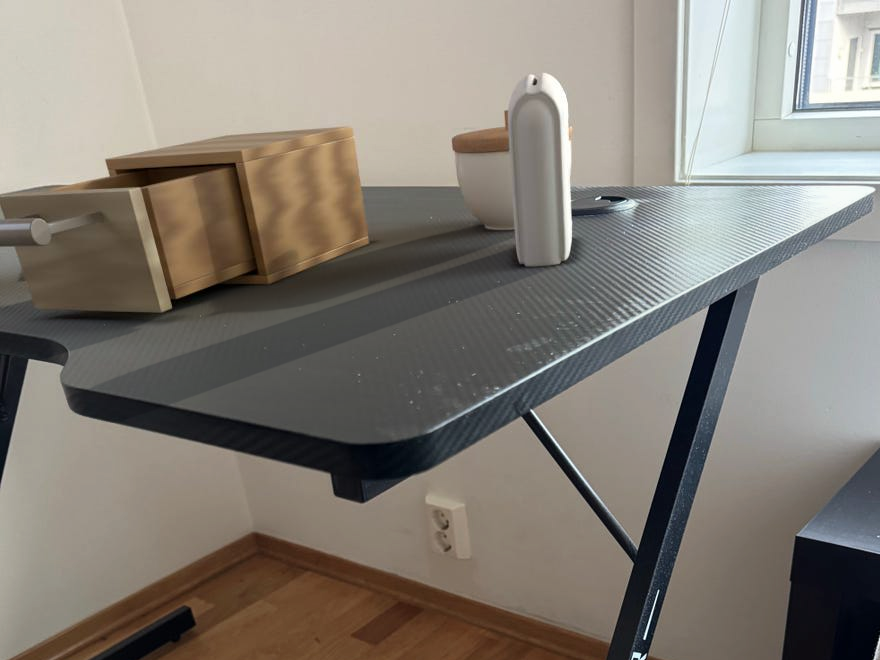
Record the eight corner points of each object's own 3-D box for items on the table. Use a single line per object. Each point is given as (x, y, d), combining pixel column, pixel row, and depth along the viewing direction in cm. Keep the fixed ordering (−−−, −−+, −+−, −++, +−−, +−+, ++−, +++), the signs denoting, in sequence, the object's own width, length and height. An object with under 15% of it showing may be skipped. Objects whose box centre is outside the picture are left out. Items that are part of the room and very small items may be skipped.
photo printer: (522, 244, 78) (512, 73, 71) (573, 240, 77) (568, 67, 71) (513, 271, 69) (500, 79, 63) (570, 267, 69) (563, 73, 62)
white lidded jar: (473, 218, 92) (464, 110, 87) (581, 211, 89) (578, 100, 84) (448, 240, 83) (436, 121, 78) (567, 232, 81) (562, 109, 76)
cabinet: (269, 286, 73) (241, 150, 68) (139, 285, 79) (104, 159, 73) (369, 245, 85) (352, 126, 79) (250, 246, 90) (227, 135, 85)
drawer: (95, 338, 60) (54, 207, 55) (-35, 333, 65) (-82, 212, 60) (282, 265, 75) (261, 158, 71) (165, 266, 80) (139, 165, 76)
